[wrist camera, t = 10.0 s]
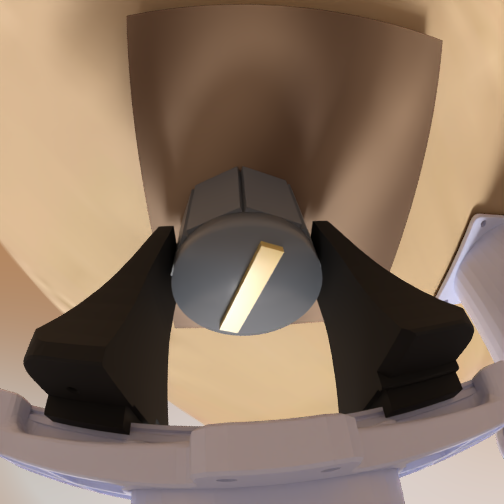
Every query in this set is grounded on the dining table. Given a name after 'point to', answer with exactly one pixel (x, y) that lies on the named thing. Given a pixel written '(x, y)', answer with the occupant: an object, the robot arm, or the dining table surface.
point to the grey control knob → (244, 255)
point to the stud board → (285, 113)
